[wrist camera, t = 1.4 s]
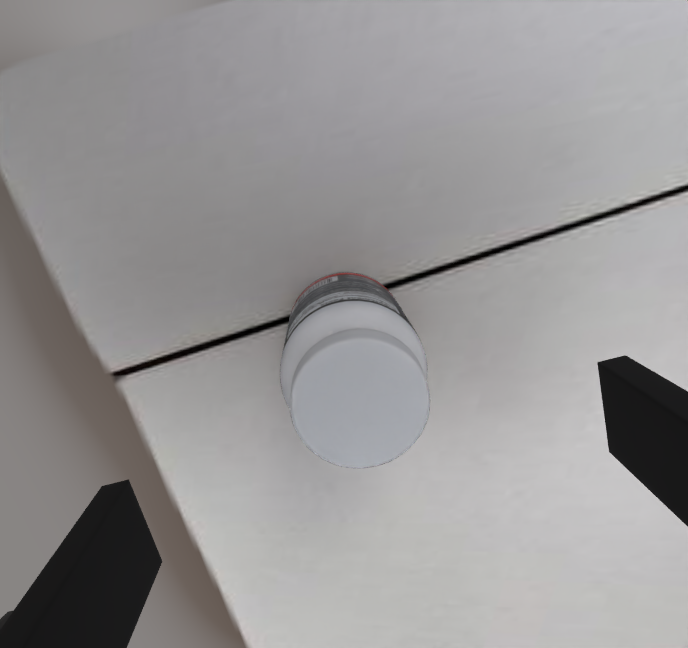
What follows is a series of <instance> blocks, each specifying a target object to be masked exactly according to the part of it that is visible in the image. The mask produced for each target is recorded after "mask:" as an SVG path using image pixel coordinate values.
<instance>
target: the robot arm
mask: <svg viewBox="0 0 688 648" xmlns="http://www.w3.org/2000/svg"><path fill="white" fill-rule="evenodd" d="M598 370H599V377H600V385H601V393H602V400H603V408H604V416H605V423H606V431H607V439H608V446H609V452H610V453H611V454H612V455H613V456H614V457H615V458H616V459H617V460H618V461H619V462H620V463H622V464H623V465H624V466H625V467H626V468H627V469H628V470H629V471H630V472H631V473H632V474H633V475H634V476H635V477H636V478H637V479H638V480H639V481H640V482H642V483H643V484H644V485H645V486H646V487H647V488H648V489H649V490H650V491H651V492H652V493H653V494H654V495H655V496H656V497H657V498H658V499H659V500H660V501H661V502H663V503H664V504H665V505H666V506H667V507H668V508H669V509H670V510H671V511H672V512H673V513H674V514H675V515H676V516H677V517H678V518H679V519H680V520H681V521H682V522H684V523H685V524H686V525H687V526H688V392H687V391H686V390H684V389H682V388H681V387H679V386H677V385H675V384H674V383H672V382H670V381H669V380H667V379H665V378H663V377H662V376H660V375H658V374H657V373H655V372H653V371H651V370H650V369H648V368H646V367H645V366H643V365H641V364H639V363H638V362H636V361H634V360H633V359H631V358H629V357H627V356H626V355H625V356H621V357H617V358H613V359H609V360H605V361H601V362H598ZM161 563H162V559H161V557H160V555H159V552H158V550H157V548H156V545H155V542H154V540H153V538H152V535H151V533H150V530H149V528H148V525H147V523H146V520H145V518H144V516H143V513H142V511H141V508H140V506H139V503H138V501H137V499H136V496H135V494H134V491H133V489H132V487H131V484H130V482H129V480H125V481H121V482H117V483H113V484H109V485H105V486H102V487H101V489H100V490H99V491H98V493H97V494H96V496H95V497H94V498H93V500H92V501H91V503H90V504H89V505H88V507H87V508H86V509H85V511H84V513H83V514H82V515H81V517H80V518H79V519H78V521H77V522H76V524H75V525H74V527H73V528H72V529H71V531H70V532H69V533H68V535H67V536H66V538H65V539H64V540H63V542H62V543H61V545H60V546H59V548H58V549H57V551H56V552H55V553H54V555H53V556H52V557H51V559H50V560H49V562H48V563H47V565H46V566H45V567H44V569H43V570H42V571H41V573H40V574H39V576H38V577H37V579H36V580H35V582H34V583H33V584H32V586H31V587H30V588H29V590H28V591H27V593H26V594H25V596H24V597H23V598H22V600H21V601H20V603H19V604H18V605H17V607H16V608H15V610H14V611H10V612H7V613H6V614H5V615H4V616H3V617H2V618H1V619H0V648H127V645H128V643H129V641H130V638H131V636H132V633H133V631H134V629H135V626H136V624H137V621H138V619H139V616H140V614H141V612H142V609H143V607H144V604H145V602H146V599H147V597H148V595H149V592H150V590H151V587H152V585H153V583H154V580H155V578H156V575H157V573H158V570H159V568H160V566H161Z"/></svg>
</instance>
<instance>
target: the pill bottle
mask: <svg viewBox="0 0 688 648" xmlns="http://www.w3.org/2000/svg"><path fill="white" fill-rule="evenodd" d="M427 370H428V369H427V360H426V355H425V351H424V348H423V346H422V343H421V341H420V339H419V337H418V335H417V333H416V332H415V330H414V328H413V327H412V325H411V324H410V322H409V321H408V319H407V318H406V316H405V314H404V313H403V311H402V309H401V308H400V306H399V305H398V303H397V301H396V300H395V298H394V297H393V295H392V294H391V293H390V292H389V291H388V290H387V289H386V288H385V287H384V286H383V285H381V284H380V283H379V282H377V281H376V280H374V279H372V278H370V277H367V276H365V275H361V274H357V273H336V274H332V275H328V276H325V277H323V278H321V279H319V280H317V281H315V282H314V283H312V284H311V285H309V286H308V287H307V288H306V289H305V290H304V291H303V292H302V293H301V295H300V296H299V297H298V299H297V300H296V302H295V304H294V306H293V308H292V311H291V315H290V319H289V324H288V329H287V334H286V339H285V344H284V349H283V353H282V359H281V364H280V381H281V388H282V392H283V395H284V398H285V401H286V403H287V405H288V407H289V409H290V413H291V418H292V422H293V425H294V427H295V430H296V432H297V434H298V435H299V437H300V439H301V440H302V441H303V442H304V444H305V445H306V446H307V447H308V448H309V449H310V450H311V451H312V452H313V453H314V454H316V455H317V456H319V457H320V458H322V459H324V460H326V461H328V462H330V463H332V464H335V465H338V466H341V467H347V468H368V467H374V466H378V465H382V464H385V463H387V462H390V461H392V460H393V459H395V458H397V457H399V456H400V455H402V454H403V453H404V452H406V451H407V450H408V449H409V448H410V447H411V446H412V445H413V444H414V443H415V442H416V440H417V439H418V437H419V436H420V434H421V433H422V431H423V429H424V427H425V425H426V422H427V419H428V416H429V410H430V393H429V387H428V384H427Z"/></svg>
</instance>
